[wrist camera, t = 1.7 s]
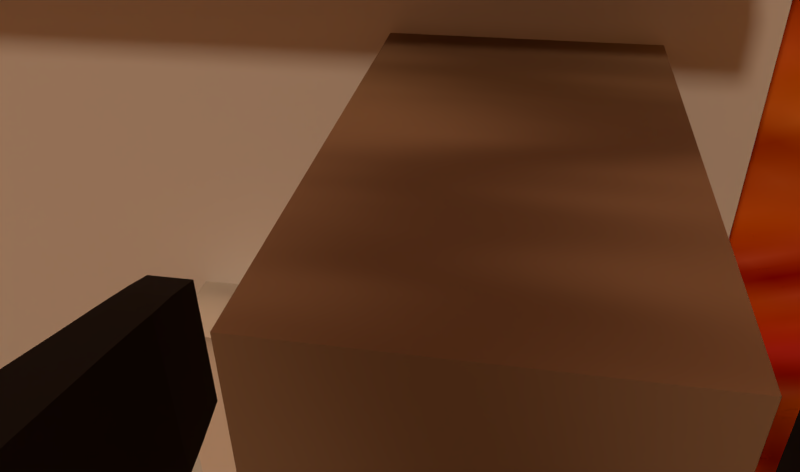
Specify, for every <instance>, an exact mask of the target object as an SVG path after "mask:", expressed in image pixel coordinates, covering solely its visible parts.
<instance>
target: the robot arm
mask: <svg viewBox="0 0 800 472" xmlns="http://www.w3.org/2000/svg"><path fill="white" fill-rule="evenodd" d="M217 401H218V400H217V395H216V390H215V385H214V380H213V375H212V370H211V365H210V360H209V355H208V350H207V345H206V340H205V335H204V330H203V325H202V320H201V315H200V310H199V305H198V300H197V295H196V290H195V285H194V280H192V279H182V278H172V277H162V276H152V275H146V276H144V277H143V278H141V279H139V280H138V281H136V282H134V283H132V284H131V285H129V286H127V287H126V288H124V289H122V290H121V291H119V292H118V293H116V294H115V295H113V296H111V297H110V298H108V299H107V300H105V301H104V302H102V303H101V304H99V305H97V306H96V307H94V308H93V309H91V310H90V311H88V312H87V313H85V314H84V315H82V316H81V317H79V318H78V319H76V320H75V321H73V322H72V323H70V324H69V325H67V326H66V327H64V328H62V329H61V330H59V331H58V332H56V333H55V334H53V335H52V336H50V337H49V338H47V339H46V340H44V341H43V342H41V343H39V344H38V345H36V346H35V347H33V348H32V349H30V350H29V351H27V352H26V353H24V354H22V355H21V356H19V357H18V358H16V359H15V360H13V361H12V362H10V363H9V364H7V365H6V366H4V367H2V368H1V369H0V472H192V470H193V467H194V464H195V462H196V459H197V457H198V454H199V452H200V449H201V446H202V444H203V441H204V438H205V435H206V433H207V430H208V427H209V424H210V421H211V418H212V416H213V413H214V410H215V407H216V404H217ZM776 472H800V411H799V413H798V416H797V419H796V421H795V424H794V426H793V429H792V432H791V434H790V437H789V439H788V442H787V444H786V447H785V450H784V452H783V455H782V457H781V460H780V463H779V465H778V468H777V470H776Z"/></svg>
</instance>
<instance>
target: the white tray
mask: <svg viewBox="0 0 800 472" xmlns="http://www.w3.org/2000/svg"><path fill="white" fill-rule="evenodd" d="M791 3H792V0H0V369H1V368H2V367H4V366H6V365H7V364H9V363H10V362H12V361H13V360H15V359H16V358H18V357H19V356H21V355H22V354H24V353H26V352H27V351H29V350H30V349H32V348H33V347H35V346H36V345H38V344H39V343H41V342H43V341H44V340H46V339H47V338H49V337H50V336H52V335H53V334H55V333H56V332H58V331H59V330H61V329H62V328H64V327H66V326H67V325H69V324H70V323H72V322H73V321H75V320H76V319H78V318H79V317H81V316H82V315H84V314H85V313H87V312H88V311H90V310H91V309H93V308H94V307H96V306H97V305H99V304H101V303H102V302H104V301H105V300H107V299H108V298H110V297H111V296H113V295H115V294H116V293H118V292H119V291H121V290H122V289H124V288H126V287H127V286H129V285H131V284H132V283H134V282H136V281H138V280H139V279H141V278H143V277H144V276H146V275H152V276H162V277H172V278H182V279H192V280H194V285H195V290H196V295H197V300H198V305H199V310H200V315H201V320H202V325H203V330H204V335H205V340H206V345H207V350H208V355H209V360H210V365H211V370H212V375H213V380H214V385H215V390H216V395H217V400H218V401H217V404H216V407H215V410H214V413H213V416H212V418H211V421H210V424H209V427H208V430H207V433H206V435H205V438H204V441H203V444H202V446H201V449H200V452H199V454H198V457H197V459H196V462H195V464H194V467H193V470H192V472H237V471H236V466H235V461H234V456H233V450H232V445H231V440H230V435H229V430H228V424H227V419H226V414H225V409H224V403H223V398H222V393H221V388H220V382H219V377H218V372H217V367H216V361H215V356H214V351H213V346H212V340H211V335H210V331H211V330H212V328H213V326H214V325H215V323H216V321H217V320H218V318H219V316H220V315H221V313H222V311H223V310H224V308H225V306H226V305H227V303H228V301H229V300H230V298H231V296H232V295H233V293H234V291H235V290H236V288H237V286H238V285H239V283H240V281H241V280H242V278H243V276H244V275H245V273H246V271H247V270H248V268H249V266H250V265H251V263H252V262H253V260H254V258H255V257H256V255H257V253H258V252H259V250H260V248H261V247H262V245H263V243H264V242H265V240H266V238H267V237H268V235H269V233H270V232H271V230H272V228H273V227H274V225H275V223H276V222H277V220H278V218H279V217H280V215H281V213H282V212H283V210H284V208H285V207H286V205H287V203H288V202H289V200H290V199H291V197H292V195H293V194H294V192H295V190H296V189H297V187H298V185H299V184H300V182H301V180H302V179H303V177H304V175H305V174H306V172H307V170H308V169H309V167H310V165H311V164H312V162H313V160H314V159H315V157H316V155H317V154H318V152H319V150H320V149H321V147H322V145H323V144H324V142H325V140H326V139H327V137H328V136H329V134H330V132H331V131H332V129H333V127H334V126H335V124H336V122H337V121H338V119H339V117H340V116H341V114H342V112H343V111H344V109H345V107H346V106H347V104H348V102H349V101H350V99H351V97H352V96H353V94H354V92H355V91H356V89H357V87H358V86H359V84H360V82H361V81H362V79H363V77H364V76H365V74H366V72H367V71H368V69H369V68H370V66H371V64H372V63H373V61H374V59H375V58H376V56H377V54H378V53H379V51H380V49H381V48H382V46H383V44H384V43H385V41H386V39H387V38H388V36H389V34H390V33H406V34H427V35H449V36H471V37H492V38H514V39H536V40H558V41H579V42H601V43H623V44H645V45H664V47H665V50H666V53H667V56H668V59H669V62H670V65H671V68H672V71H673V74H674V77H675V80H676V83H677V86H678V89H679V92H680V95H681V98H682V101H683V104H684V107H685V110H686V113H687V116H688V119H689V122H690V125H691V128H692V131H693V134H694V137H695V140H696V143H697V146H698V149H699V152H700V155H701V158H702V161H703V164H704V167H705V170H706V172H707V175H708V178H709V181H710V184H711V187H712V190H713V193H714V196H715V199H716V202H717V205H718V208H719V211H720V214H721V217H722V220H723V223H724V226H725V229H726V232H727V235H728V238H729V236H730V232H731V228H732V225H733V221H734V217H735V213H736V210H737V206H738V202H739V198H740V195H741V191H742V187H743V183H744V180H745V176H746V172H747V168H748V165H749V161H750V157H751V153H752V150H753V146H754V142H755V138H756V135H757V131H758V127H759V123H760V120H761V116H762V112H763V108H764V105H765V101H766V97H767V93H768V90H769V86H770V82H771V78H772V75H773V71H774V67H775V63H776V60H777V56H778V52H779V48H780V45H781V41H782V37H783V33H784V30H785V26H786V22H787V18H788V14H789V11H790V7H791Z"/></svg>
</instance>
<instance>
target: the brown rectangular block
mask: <svg viewBox="0 0 800 472" xmlns="http://www.w3.org/2000/svg"><path fill="white" fill-rule="evenodd" d="M210 335H211V340H212V346H213V351H214V356H215V361H216V367H217V372H218V377H219V382H220V388H221V393H222V398H223V403H224V409H225V414H226V419H227V424H228V430H229V435H230V440H231V445H232V450H233V456H234V461H235V466H236V471H237V472H755V470H756V467H757V464H758V461H759V459H760V456H761V453H762V450H763V447H764V445H765V442H766V439H767V436H768V434H769V431H770V428H771V425H772V422H773V420H774V417H775V414H776V411H777V409H778V406H779V403H780V400H781V398H782V396H781V393H780V390H779V387H778V384H777V381H776V378H775V375H774V372H773V369H772V366H771V363H770V360H769V357H768V354H767V351H766V348H765V345H764V342H763V339H762V336H761V333H760V330H759V328H758V325H757V322H756V319H755V316H754V313H753V310H752V307H751V304H750V301H749V298H748V295H747V292H746V289H745V286H744V283H743V280H742V277H741V274H740V271H739V268H738V265H737V262H736V259H735V256H734V253H733V250H732V247H731V244H730V241H729V238H728V235H727V232H726V229H725V226H724V223H723V220H722V217H721V214H720V211H719V208H718V205H717V202H716V199H715V196H714V193H713V190H712V187H711V184H710V181H709V178H708V175H707V172H706V170H705V167H704V164H703V161H702V158H701V155H700V152H699V149H698V146H697V143H696V140H695V137H694V134H693V131H692V128H691V125H690V122H689V119H688V116H687V113H686V110H685V107H684V104H683V101H682V98H681V95H680V92H679V89H678V86H677V83H676V80H675V77H674V74H673V71H672V68H671V65H670V62H669V59H668V56H667V53H666V50H665V47H664V45H645V44H623V43H601V42H579V41H558V40H536V39H514V38H492V37H471V36H449V35H427V34H406V33H390V34H389V36H388V38H387V39H386V41H385V43H384V44H383V46H382V48H381V49H380V51H379V53H378V54H377V56H376V58H375V59H374V61H373V63H372V64H371V66H370V68H369V69H368V71H367V72H366V74H365V76H364V77H363V79H362V81H361V82H360V84H359V86H358V87H357V89H356V91H355V92H354V94H353V96H352V97H351V99H350V101H349V102H348V104H347V106H346V107H345V109H344V111H343V112H342V114H341V116H340V117H339V119H338V121H337V122H336V124H335V126H334V127H333V129H332V131H331V132H330V134H329V136H328V137H327V139H326V140H325V142H324V144H323V145H322V147H321V149H320V150H319V152H318V154H317V155H316V157H315V159H314V160H313V162H312V164H311V165H310V167H309V169H308V170H307V172H306V174H305V175H304V177H303V179H302V180H301V182H300V184H299V185H298V187H297V189H296V190H295V192H294V194H293V195H292V197H291V199H290V200H289V202H288V203H287V205H286V207H285V208H284V210H283V212H282V213H281V215H280V217H279V218H278V220H277V222H276V223H275V225H274V227H273V228H272V230H271V232H270V233H269V235H268V237H267V238H266V240H265V242H264V243H263V245H262V247H261V248H260V250H259V252H258V253H257V255H256V257H255V258H254V260H253V262H252V263H251V265H250V266H249V268H248V270H247V271H246V273H245V275H244V276H243V278H242V280H241V281H240V283H239V285H238V286H237V288H236V290H235V291H234V293H233V295H232V296H231V298H230V300H229V301H228V303H227V305H226V306H225V308H224V310H223V311H222V313H221V315H220V316H219V318H218V320H217V321H216V323H215V325H214V326H213V328H212V330H211V331H210Z"/></svg>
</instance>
